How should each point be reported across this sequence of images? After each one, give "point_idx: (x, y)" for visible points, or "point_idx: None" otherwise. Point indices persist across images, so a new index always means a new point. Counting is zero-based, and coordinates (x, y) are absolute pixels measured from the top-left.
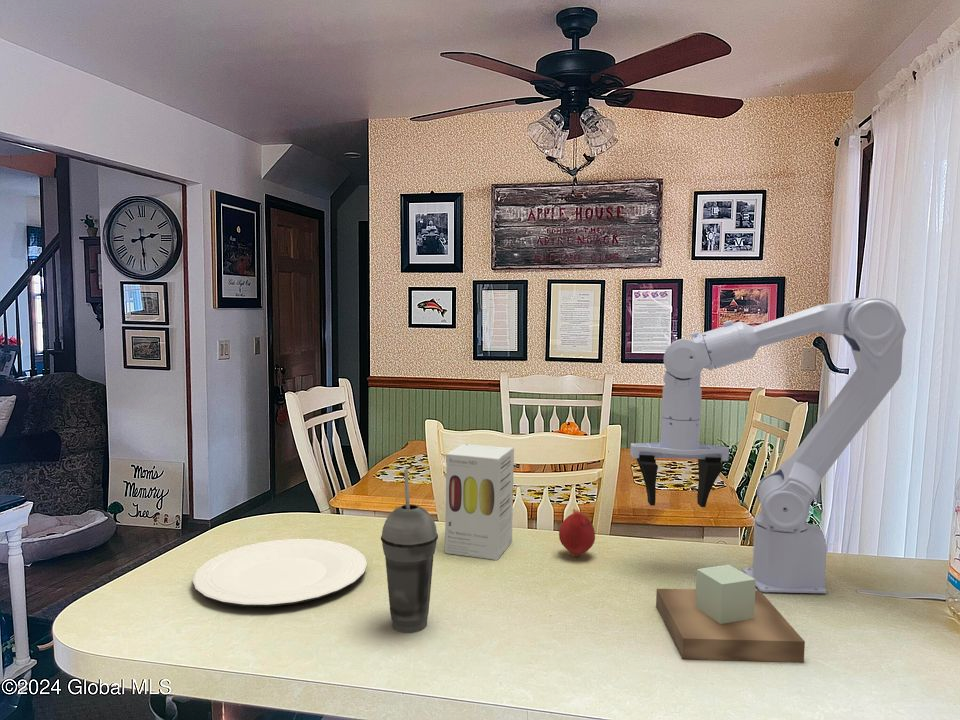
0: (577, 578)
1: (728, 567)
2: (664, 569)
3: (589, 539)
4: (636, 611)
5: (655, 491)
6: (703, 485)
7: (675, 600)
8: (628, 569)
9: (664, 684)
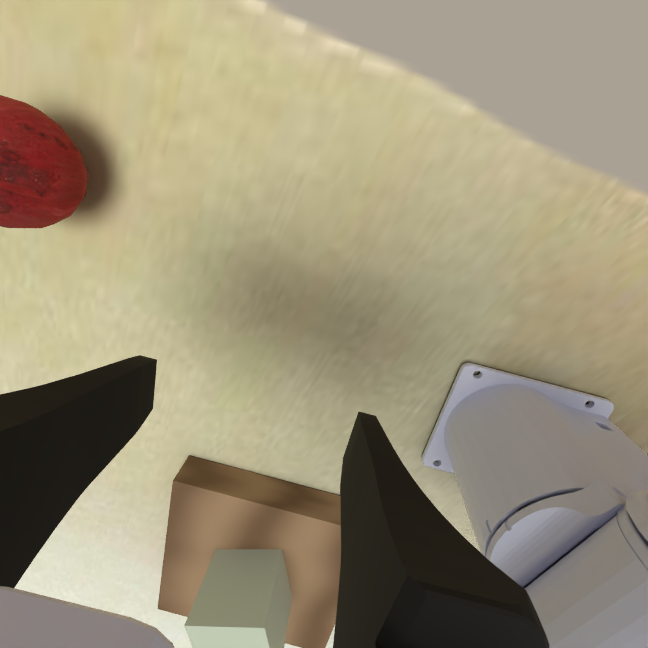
0: (60, 310)
1: (255, 635)
2: (278, 305)
3: (49, 223)
4: (149, 462)
5: (106, 465)
6: (347, 544)
7: (190, 524)
8: (189, 286)
9: (133, 606)
